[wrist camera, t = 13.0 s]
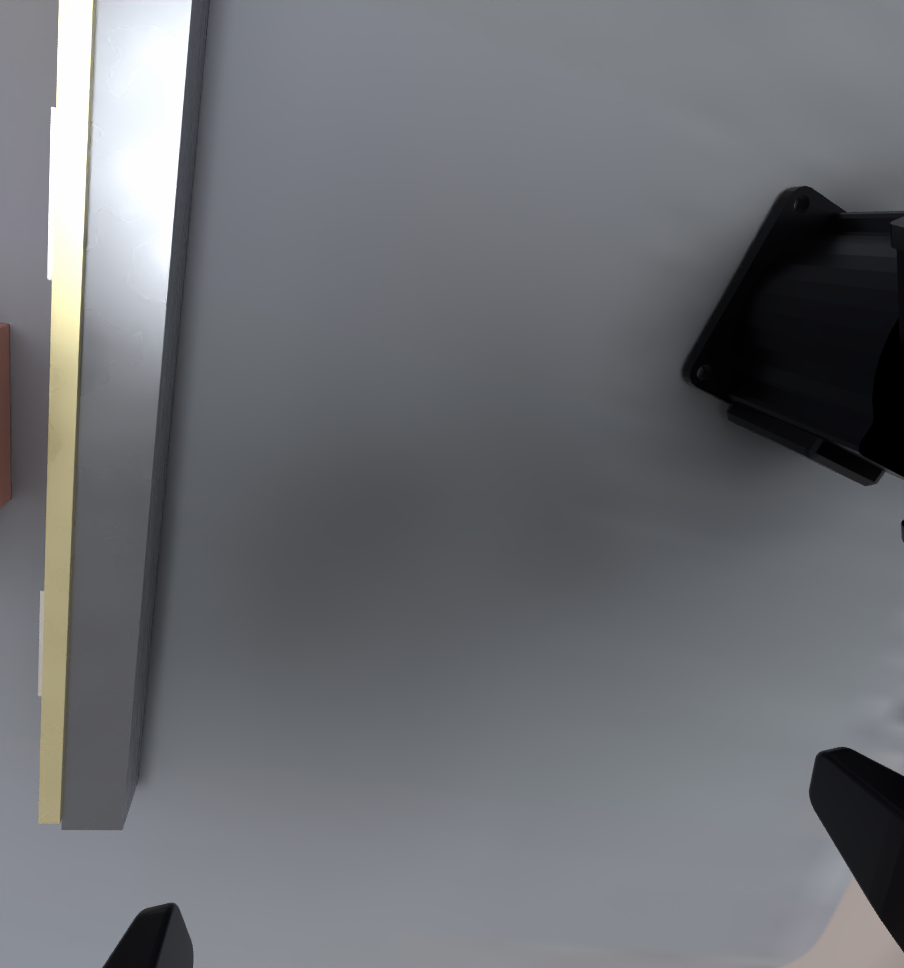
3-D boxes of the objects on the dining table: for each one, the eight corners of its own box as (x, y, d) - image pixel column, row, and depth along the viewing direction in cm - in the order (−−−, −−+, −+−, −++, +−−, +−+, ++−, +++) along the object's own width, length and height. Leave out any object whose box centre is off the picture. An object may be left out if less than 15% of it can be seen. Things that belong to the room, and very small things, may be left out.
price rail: (219, -101, 14) (202, -154, 12) (138, 781, 23) (120, 835, 21) (91, -148, 14) (51, -213, 12) (57, 779, 22) (30, 835, 20)
